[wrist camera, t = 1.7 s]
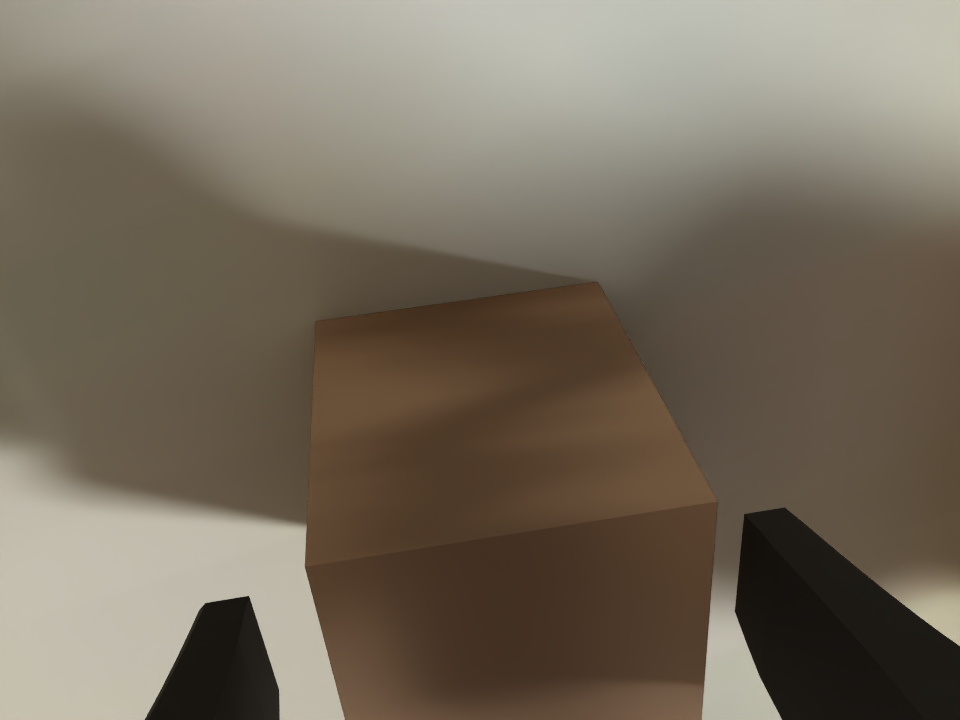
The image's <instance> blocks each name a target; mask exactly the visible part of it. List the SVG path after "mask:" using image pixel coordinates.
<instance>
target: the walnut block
mask: <svg viewBox="0 0 960 720" xmlns="http://www.w3.org/2000/svg"><path fill="white" fill-rule="evenodd" d="M717 506H718V501H717V499H716V497H715V495H714V493H713V492H712V490H711V488H710V486H709V484H708V482H707V481H706V479H705V477H704V475H703V473H702V471H701V470H700V468H699V466H698V464H697V462H696V460H695V459H694V457H693V455H692V453H691V451H690V449H689V448H688V446H687V444H686V442H685V440H684V439H683V437H682V435H681V433H680V431H679V429H678V428H677V426H676V424H675V422H674V420H673V418H672V417H671V415H670V413H669V411H668V409H667V407H666V406H665V404H664V402H663V400H662V398H661V396H660V395H659V393H658V391H657V389H656V387H655V385H654V384H653V382H652V380H651V378H650V376H649V374H648V373H647V371H646V369H645V367H644V365H643V363H642V362H641V360H640V358H639V356H638V354H637V353H636V351H635V349H634V347H633V345H632V343H631V342H630V340H629V338H628V336H627V334H626V332H625V331H624V329H623V327H622V325H621V323H620V321H619V320H618V318H617V316H616V314H615V312H614V310H613V309H612V307H611V305H610V303H609V301H608V299H607V298H606V296H605V294H604V292H603V290H602V288H601V287H600V285H599V283H598V282H592V283H585V284H578V285H571V286H564V287H557V288H550V289H542V290H535V291H528V292H521V293H514V294H507V295H500V296H493V297H485V298H478V299H471V300H464V301H457V302H450V303H443V304H436V305H428V306H421V307H414V308H407V309H400V310H393V311H386V312H379V313H371V314H364V315H357V316H350V317H343V318H336V319H329V320H321V321H316V327H315V350H314V373H313V395H312V418H311V441H310V463H309V486H308V509H307V531H306V554H305V569H306V573H307V576H308V580H309V584H310V588H311V592H312V595H313V599H314V603H315V607H316V611H317V614H318V618H319V622H320V626H321V630H322V633H323V637H324V641H325V645H326V649H327V652H328V656H329V660H330V664H331V668H332V671H333V675H334V679H335V683H336V687H337V690H338V694H339V698H340V702H341V706H342V709H343V713H344V717H345V720H702V707H703V693H704V680H705V667H706V653H707V640H708V626H709V613H710V600H711V586H712V573H713V560H714V546H715V533H716V519H717Z"/></svg>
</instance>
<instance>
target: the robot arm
mask: <svg viewBox="0 0 960 720" xmlns="http://www.w3.org/2000/svg"><path fill="white" fill-rule="evenodd" d="M735 613H736V616H737V618H738V621H739V624H740V626H741V629H742V632H743V634H744V637H745V640H746V643H747V645H748V648H749V650H750V653H751V655H752V658H753V660H754V663H755V665H756V668H757V671H758V673H759V676H760V678H761V680H762V682H763V683H764V685H765V687H766V689H767V691H768V693H769V695H770V697H771V699H772V701H773V703H774V705H775V707H776V709H777V710H778V712H779V714H780V716H781V718H782V720H960V646H959V645H957V644H956V643H954V642H953V641H952V640H950V639H949V638H947V637H946V636H944V635H943V634H942V633H940V632H939V631H938V630H936V629H935V628H934V627H932V626H931V625H929V624H928V623H927V622H925V621H924V620H923V619H921V618H920V617H919V616H917V615H916V614H915V613H914V612H912V611H911V610H910V609H908V608H907V607H906V606H905V605H903V604H902V603H901V602H899V601H898V600H897V599H896V598H894V597H893V596H892V595H890V594H889V593H888V592H887V591H885V590H884V589H883V588H881V587H880V586H879V585H878V584H876V583H875V582H874V581H873V580H871V579H870V578H869V577H868V576H866V575H865V574H864V573H863V572H862V571H860V570H859V569H858V568H857V567H856V566H854V565H853V564H852V563H851V562H849V561H848V560H847V559H846V558H845V557H843V556H842V555H841V554H840V553H839V552H837V551H836V550H835V549H834V548H833V547H831V546H830V545H829V544H828V543H827V542H825V541H824V540H823V539H822V538H821V537H820V536H818V535H817V534H816V533H815V532H814V531H812V530H811V529H810V528H809V527H808V526H806V525H805V524H804V523H803V522H802V521H801V520H799V519H798V518H797V517H796V516H794V515H793V514H792V513H791V512H790V511H788V510H787V509H786V508H779V509H773V510H767V511H761V512H755V513H749V514H744V524H743V534H742V544H741V554H740V565H739V575H738V585H737V595H736V606H735ZM145 720H279V689H278V685H277V682H276V679H275V676H274V673H273V670H272V667H271V663H270V660H269V657H268V654H267V651H266V648H265V645H264V641H263V638H262V635H261V632H260V629H259V626H258V623H257V620H256V616H255V613H254V610H253V607H252V604H251V601H250V598H249V596H246V597H240V598H234V599H228V600H222V601H216V602H210V603H205V604H204V605H203V607H202V608H201V609H200V610H199V612H198V614H197V616H196V619H195V621H194V623H193V625H192V627H191V630H190V632H189V634H188V636H187V638H186V640H185V642H184V645H183V647H182V649H181V651H180V653H179V655H178V657H177V659H176V661H175V663H174V665H173V667H172V669H171V671H170V673H169V675H168V677H167V679H166V681H165V683H164V685H163V687H162V689H161V691H160V693H159V695H158V696H157V698H156V700H155V702H154V704H153V706H152V707H151V709H150V711H149V713H148V715H147V717H146V718H145Z"/></svg>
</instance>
